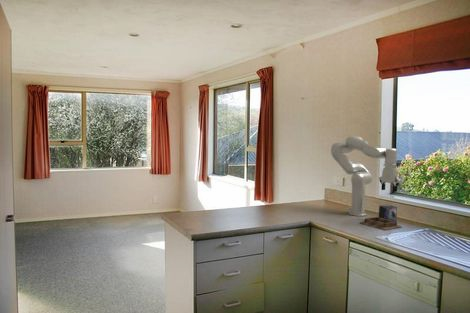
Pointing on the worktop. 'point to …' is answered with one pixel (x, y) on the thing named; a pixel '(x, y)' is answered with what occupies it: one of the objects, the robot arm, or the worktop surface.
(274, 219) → the worktop surface
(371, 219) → the brown shallow box
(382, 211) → the small box
